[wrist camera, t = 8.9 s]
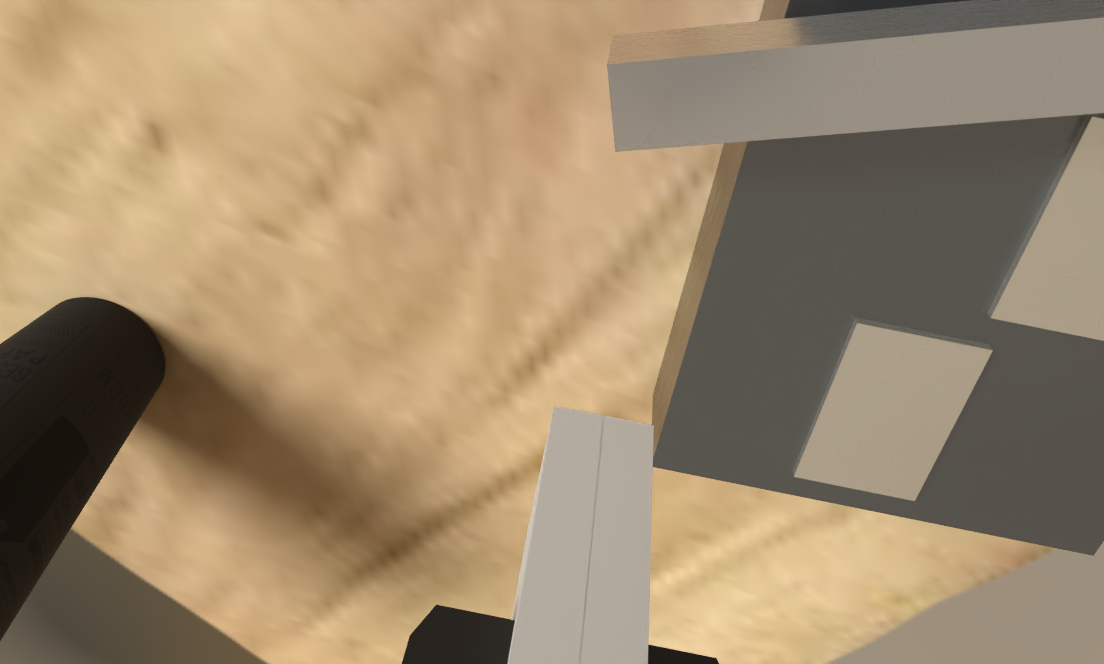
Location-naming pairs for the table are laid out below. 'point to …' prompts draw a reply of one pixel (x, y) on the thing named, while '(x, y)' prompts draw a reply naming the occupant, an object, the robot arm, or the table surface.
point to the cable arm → (857, 72)
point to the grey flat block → (901, 322)
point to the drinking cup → (64, 426)
